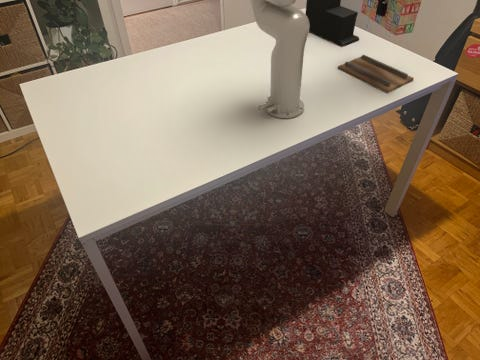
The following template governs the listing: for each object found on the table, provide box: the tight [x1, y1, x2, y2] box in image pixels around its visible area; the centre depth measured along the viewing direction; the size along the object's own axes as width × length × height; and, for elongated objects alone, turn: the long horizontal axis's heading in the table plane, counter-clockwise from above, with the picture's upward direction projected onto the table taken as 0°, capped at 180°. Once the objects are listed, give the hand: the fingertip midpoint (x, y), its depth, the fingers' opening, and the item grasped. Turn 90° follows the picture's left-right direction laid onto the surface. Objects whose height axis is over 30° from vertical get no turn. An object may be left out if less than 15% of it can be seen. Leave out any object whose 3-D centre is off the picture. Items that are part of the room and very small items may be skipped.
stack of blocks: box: [361, 0, 422, 36], centre depth 118 cm, size 21×6×12 cm, turn 16°
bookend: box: [304, 0, 360, 48], centre depth 153 cm, size 23×11×24 cm, turn 35°
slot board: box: [337, 54, 415, 94], centre depth 134 cm, size 14×23×2 cm, turn 35°
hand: (388, 11), depth 120 cm, fingers closed on stack of blocks, 7 cm apart
